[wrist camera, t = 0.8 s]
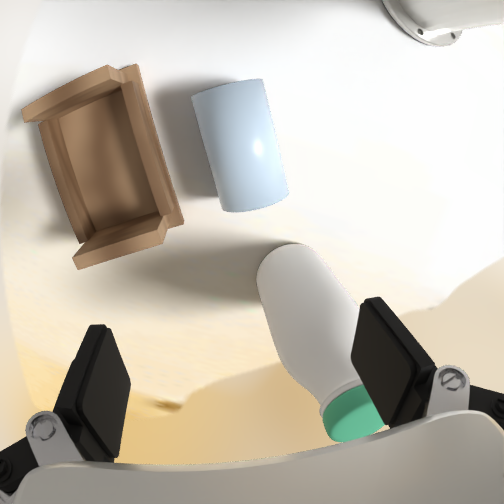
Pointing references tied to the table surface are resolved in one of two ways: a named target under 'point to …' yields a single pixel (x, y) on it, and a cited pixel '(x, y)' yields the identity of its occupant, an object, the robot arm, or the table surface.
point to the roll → (241, 145)
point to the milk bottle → (317, 337)
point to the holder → (107, 163)
